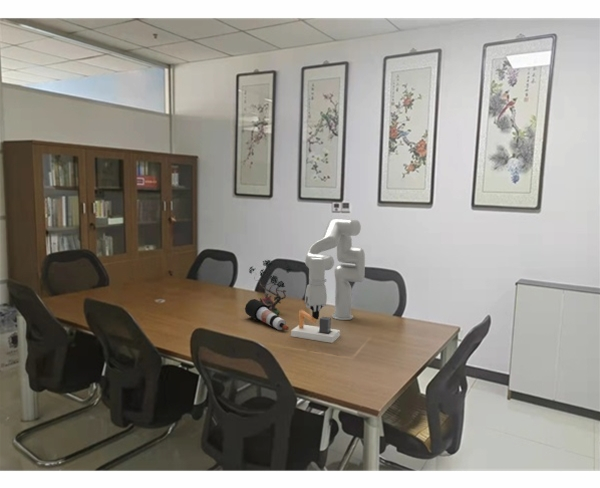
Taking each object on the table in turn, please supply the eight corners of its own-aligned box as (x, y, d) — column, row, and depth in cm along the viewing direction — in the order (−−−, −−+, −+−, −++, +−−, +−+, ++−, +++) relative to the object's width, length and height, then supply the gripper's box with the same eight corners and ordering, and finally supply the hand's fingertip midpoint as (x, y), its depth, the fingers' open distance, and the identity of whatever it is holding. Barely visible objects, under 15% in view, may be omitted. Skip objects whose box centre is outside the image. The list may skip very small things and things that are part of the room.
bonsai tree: (300, 312, 285) (301, 260, 281) (273, 320, 266) (274, 265, 262) (258, 301, 307) (259, 254, 302) (231, 308, 288) (231, 258, 284)
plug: (322, 335, 238) (322, 316, 237) (330, 336, 237) (331, 317, 235) (319, 338, 234) (319, 318, 233) (327, 339, 233) (328, 319, 231)
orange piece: (298, 326, 241) (298, 310, 240) (302, 326, 242) (302, 309, 240) (311, 337, 225) (311, 319, 224) (315, 336, 226) (316, 319, 225)
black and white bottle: (282, 341, 245) (276, 326, 240) (248, 319, 271) (242, 305, 266) (297, 330, 249) (291, 315, 244) (262, 309, 275) (256, 295, 270)
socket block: (300, 331, 247) (300, 324, 247) (339, 337, 239) (340, 330, 238) (290, 338, 236) (291, 330, 236) (332, 344, 228) (332, 336, 227)
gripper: (326, 279, 234) (324, 315, 236) (299, 281, 227) (298, 318, 229) (333, 282, 227) (332, 319, 229) (306, 285, 220) (305, 322, 223)
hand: (315, 318), depth 229 cm, fingers closed
